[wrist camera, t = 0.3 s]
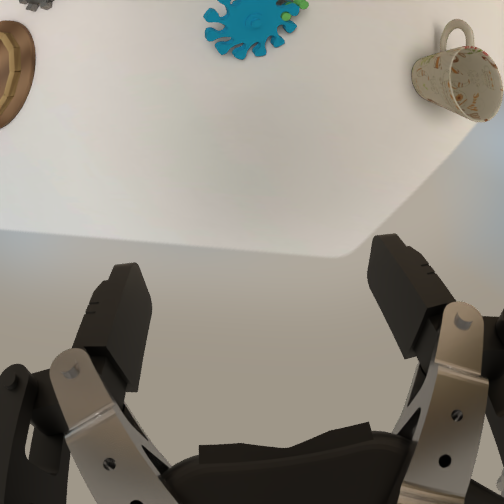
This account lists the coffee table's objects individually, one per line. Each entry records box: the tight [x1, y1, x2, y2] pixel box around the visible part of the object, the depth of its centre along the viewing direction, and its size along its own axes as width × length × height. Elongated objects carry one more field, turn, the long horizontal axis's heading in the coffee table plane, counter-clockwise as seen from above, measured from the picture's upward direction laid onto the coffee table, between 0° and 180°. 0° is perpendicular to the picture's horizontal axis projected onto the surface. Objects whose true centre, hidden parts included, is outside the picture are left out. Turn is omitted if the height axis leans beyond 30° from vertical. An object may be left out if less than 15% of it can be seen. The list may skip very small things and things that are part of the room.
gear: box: [203, 0, 309, 60], centre depth 25 cm, size 11×6×10 cm
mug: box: [412, 19, 503, 122], centre depth 24 cm, size 8×13×10 cm, turn 178°
